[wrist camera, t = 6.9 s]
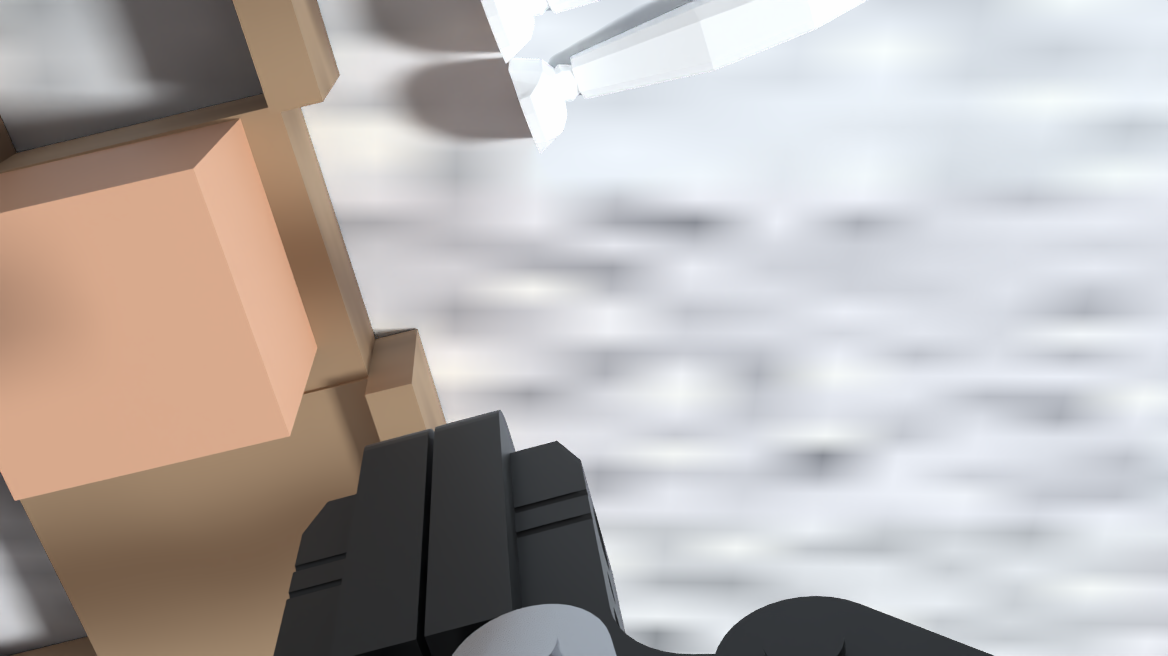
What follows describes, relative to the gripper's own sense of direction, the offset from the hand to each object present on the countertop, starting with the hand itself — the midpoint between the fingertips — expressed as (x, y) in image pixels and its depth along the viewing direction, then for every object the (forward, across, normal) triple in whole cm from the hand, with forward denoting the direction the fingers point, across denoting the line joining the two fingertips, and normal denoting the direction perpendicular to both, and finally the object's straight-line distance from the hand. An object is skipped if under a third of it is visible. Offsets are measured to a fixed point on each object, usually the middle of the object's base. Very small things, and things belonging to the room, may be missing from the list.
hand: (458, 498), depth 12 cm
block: (+11, +6, 0) cm, 13 cm away
